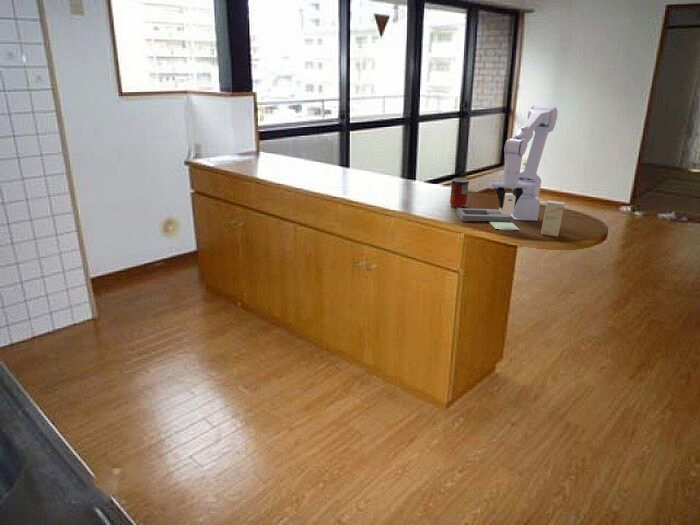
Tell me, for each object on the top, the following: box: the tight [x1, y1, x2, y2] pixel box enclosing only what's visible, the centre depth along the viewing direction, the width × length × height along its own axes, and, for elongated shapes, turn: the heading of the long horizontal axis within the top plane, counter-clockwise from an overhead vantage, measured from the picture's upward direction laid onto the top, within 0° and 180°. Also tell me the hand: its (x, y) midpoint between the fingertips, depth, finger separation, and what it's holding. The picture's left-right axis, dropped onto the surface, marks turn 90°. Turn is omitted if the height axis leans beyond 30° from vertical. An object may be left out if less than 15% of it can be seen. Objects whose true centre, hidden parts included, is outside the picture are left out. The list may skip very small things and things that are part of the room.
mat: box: [488, 222, 520, 232], centre depth 196 cm, size 9×9×1 cm
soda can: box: [449, 177, 470, 209], centre depth 222 cm, size 7×7×12 cm
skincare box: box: [540, 199, 566, 237], centre depth 187 cm, size 6×4×12 cm
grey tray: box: [456, 207, 512, 223], centre depth 206 cm, size 19×11×3 cm, turn 90°
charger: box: [498, 192, 516, 215], centre depth 193 cm, size 4×5×7 cm
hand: (506, 207), depth 194 cm, fingers closed on charger, 4 cm apart
